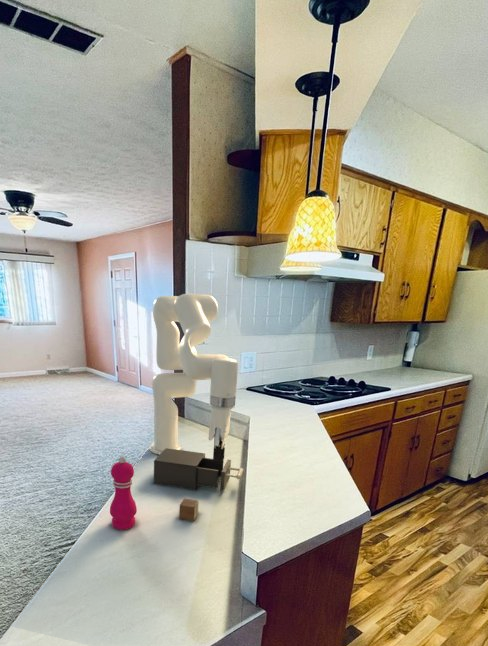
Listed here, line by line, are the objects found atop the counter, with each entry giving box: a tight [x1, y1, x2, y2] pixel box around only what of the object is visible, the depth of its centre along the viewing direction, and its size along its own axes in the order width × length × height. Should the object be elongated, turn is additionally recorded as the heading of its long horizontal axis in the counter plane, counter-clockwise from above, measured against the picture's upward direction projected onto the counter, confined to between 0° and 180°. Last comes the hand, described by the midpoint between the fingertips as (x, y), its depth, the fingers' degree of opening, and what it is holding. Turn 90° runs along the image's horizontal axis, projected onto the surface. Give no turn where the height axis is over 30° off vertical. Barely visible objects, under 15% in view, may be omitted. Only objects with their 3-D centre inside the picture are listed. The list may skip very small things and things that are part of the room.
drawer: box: [196, 457, 244, 492], centre depth 140 cm, size 18×11×7 cm, turn 77°
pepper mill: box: [109, 456, 138, 531], centre depth 110 cm, size 7×7×20 cm
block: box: [178, 498, 200, 522], centre depth 119 cm, size 4×4×4 cm
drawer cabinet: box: [153, 448, 206, 491], centre depth 142 cm, size 15×13×9 cm
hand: (218, 459), depth 127 cm, fingers closed
